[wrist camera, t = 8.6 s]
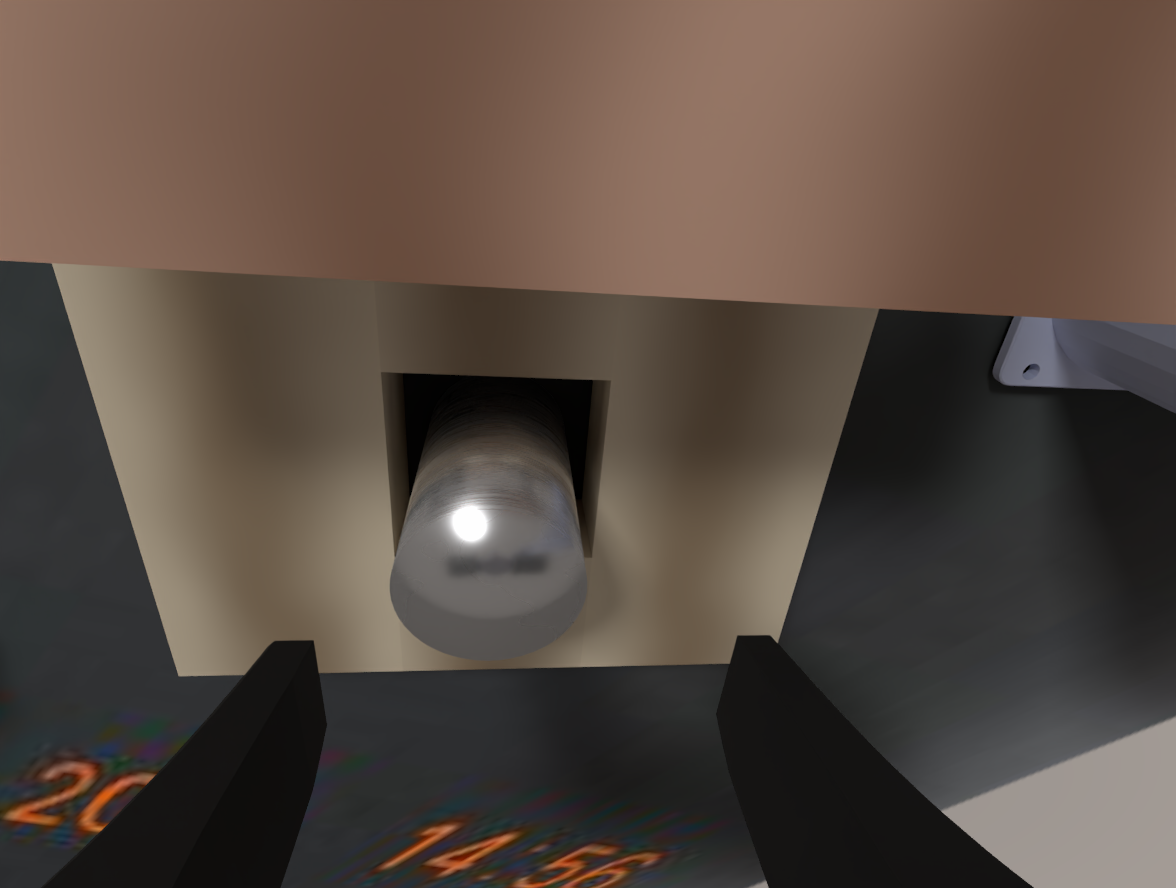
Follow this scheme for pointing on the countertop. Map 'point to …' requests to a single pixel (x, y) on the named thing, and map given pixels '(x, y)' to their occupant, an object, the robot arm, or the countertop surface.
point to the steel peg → (491, 525)
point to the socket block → (549, 266)
